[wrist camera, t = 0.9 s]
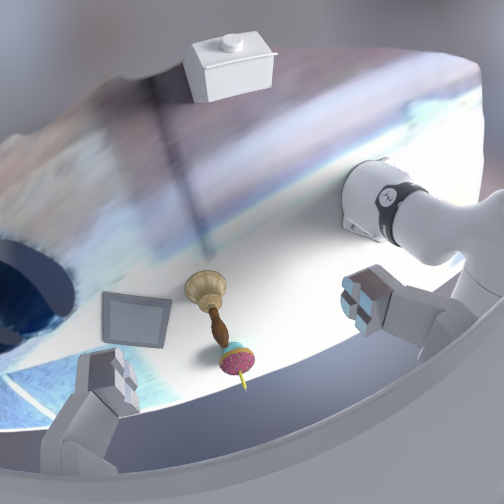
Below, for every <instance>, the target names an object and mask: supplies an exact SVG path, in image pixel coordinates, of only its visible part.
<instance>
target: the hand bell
mask: <svg viewBox="0 0 504 504" xmlns="http://www.w3.org/2000/svg"><path fill="white" fill-rule="evenodd" d="M225 290H226V282H225V279H224V278H223V277H222V276H221V275H220V274H219V273H217V272H214V271H201V272H198V273H196V274H194V275H193V276H192V277H191V278H190V279H189V280H188V282H187V283H186V287H185V292H186V295H187V297H188V298H189V299H190V300H191V301H192V302H193V303H196V304H198V306H199V308H200V309H201V310H202V311H203V312H205V313H209V315H210V317H211V320H212V325H211V328H212V334H213V337H214V339H215V340H216V341H217V343H218V344H219V345H220V346H221V348H227V347H228V345H229V344H228V339H229V334H228V330H227V328H226V326H225V324H224V323H223V321H222V320H221V319H220V317H219V313H218V309H219V308H220V307H221V305H222V298H221V297H222V296H223V294H224V293H225Z"/></svg>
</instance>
